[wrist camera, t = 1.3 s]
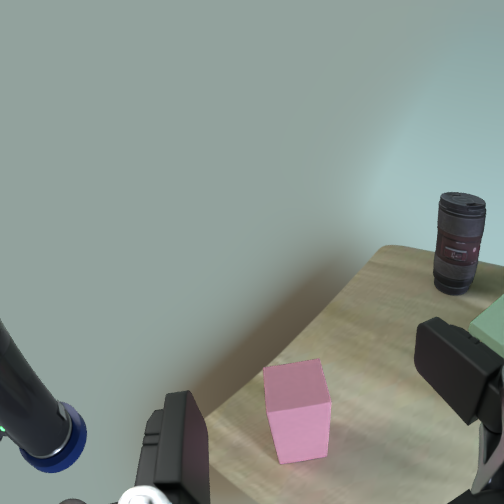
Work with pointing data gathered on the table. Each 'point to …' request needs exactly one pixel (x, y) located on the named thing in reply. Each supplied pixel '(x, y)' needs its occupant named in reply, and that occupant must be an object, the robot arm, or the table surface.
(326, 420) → the pink box
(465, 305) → the table surface
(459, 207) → the camera lens
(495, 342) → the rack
